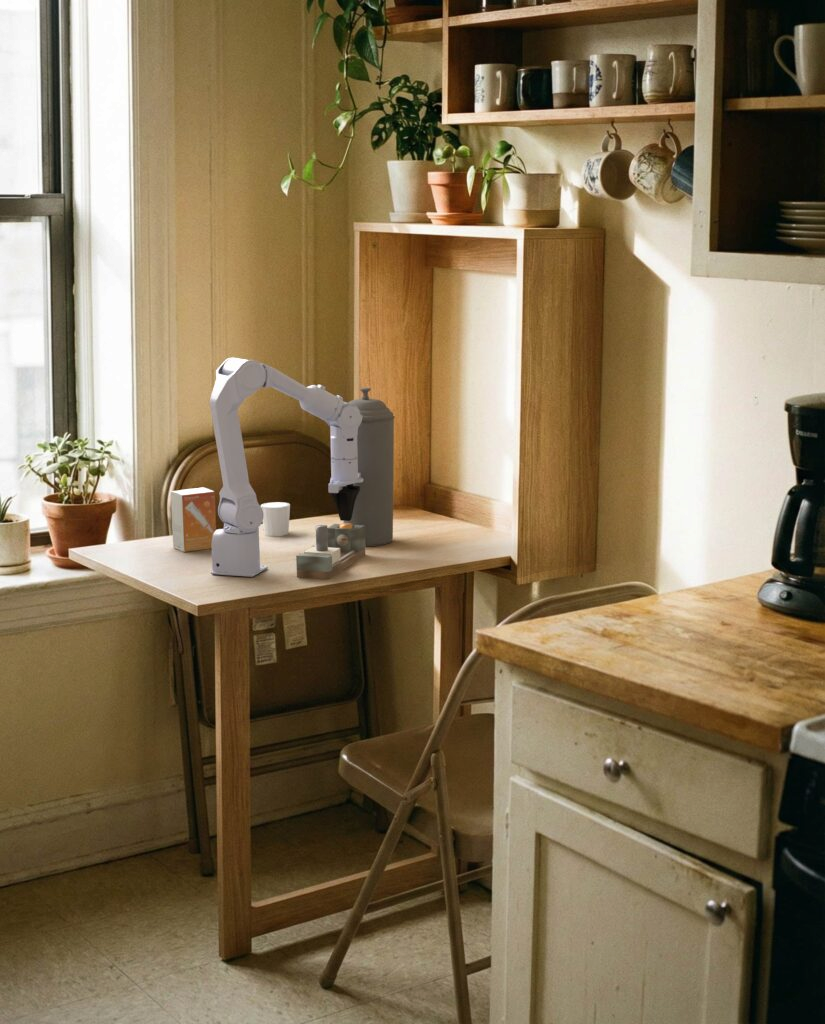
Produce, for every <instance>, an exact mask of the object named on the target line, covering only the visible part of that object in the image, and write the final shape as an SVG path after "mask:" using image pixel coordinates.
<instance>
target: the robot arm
mask: <svg viewBox="0 0 825 1024" xmlns="http://www.w3.org/2000/svg"><path fill="white" fill-rule="evenodd" d="M215 377H216V378H215V382H214V384H213V385H214V386H213V389H212V390H211V395H210V398H209V408H210V412H211V413H210V414H211V419H212V424H213V425H212V426H213V432H214V437H215V444H216V450H217V455H218V461H219V468H220V472H221V473H220V474H221V479H222V487H221V488H220V491H219V494H218V495H219V503H218V507H217V515H218V517H219V519H220V520H221V522H223V528H218V529H216V531H215V532H214V534H213V537H212V543H211V547H212V548H211V565H212V567H211V568H212V571H211V572H210V574H211V575H221V576H234V577H235V576H236V577H247V578H248V577H249V578H252V577H255V576H256V575H258V574H260V573H261V572H263V571H265V570H267V569H268V565H261V555H260V554H261V552H260V531H259V528H260V526H262V524H263V510H262V508H261V504H259V501H258V499H257V494H256V492H255V490H254V489H253V487H252V485H251V483H250V478H249V473H248V467H247V461H246V455H245V447H244V441H243V435H242V428H241V423H240V416H239V410H238V409H239V407H240V406H241V405H242V404H243V402H244V401H245V400H246V399H247V398H249V397H250V396H251V395H253V394H254V393H257V392H258V391H259V390H260V389H261V388H266V389H267V388H272V389H274V390H276V391H278V392H280V393H283V394H285V395H286V396H289V397H291V398H293V399H295V400H297V401H298V403H299V406H300V408H301V409H302V410H303V411H305V412H307V413H309V414H311V415H313V416H315V417H317V418H319V419H321V420H322V421H324V422H325V423H326V424H327V425H328V426H329V427H330V429H329V433H330V471H331V472H330V473H331V476H330V480H329V483H328V485H327V486H328V493H329V494H330V495H331V497H332V499H333V501H334V504H335V505H336V508H337V509H336V511H337V514H338V517H339V521H343V522H344V521H350V520H351V518H352V514H353V509H354V504H355V500H356V498H357V495H358V493H359V491H360V486H353V484H354V483H361V482H363V478H361V473H358V447H357V435H358V427H359V426H360V424H361V422H362V415H360V411H359V410H358V407H357V406H356V405H354V404H352V403H349V402H346V401H344V398H343V397H342V396H341V395H338V394H336V395H335V394H333V393H331V392H329V391H327V390H326V388H327V387H326V386H324V385H322V384H317V385H316V384H311V385H309V386H305V385H303V384H302V383H301V382H298V381H297V380H295V379H293V378H291V377H290V376H288V375H286V374H285V373H283V372H282V371H280V370H278V369H277V368H275V367H272V366H270V365H268V364H266V363H261V362H260V361H258V360H255V359H245V358H241V357H237V356H232V357H229V358H226V359H225V360H224V361H223V362H222V363H221V365H220V366H218V368H217V369H216V370H215Z"/></svg>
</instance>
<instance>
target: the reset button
mask: <svg viewBox="0 0 825 1024" xmlns="http://www.w3.org/2000/svg"><path fill="white" fill-rule="evenodd" d="M339 524H340V528H345V529H351V528H353V524H350V523H344V522H343V523H339Z"/></svg>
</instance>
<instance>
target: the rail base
mask: <svg viewBox="0 0 825 1024" xmlns="http://www.w3.org/2000/svg"><path fill="white" fill-rule="evenodd" d="M340 524H341V523H333V524H332V525H330V526H327V532H328V547H330V548H340V560H339V561H337V562H335V563H334V564H332V555H320V554H304V552H303V553H297V554H296V555H295V556H296V557H295V558H296V559H295V560H296V562H295V563H296V577H297V578H305V579H307V578H308V579H309V578H310V579H321V580H322V579H324V580H330V579H331V578H333V577H334V576H336V575H337V574H339V573H340V572H342V571H343V570H345V569H346V568H348V567H349V566H351V565H352V564H354V563H355V562H357V561H358V560H360V559H361V558H363V557H364V556H366V555H367V554H366V546H365V525H353V528H351V529H345V528H340Z"/></svg>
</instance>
